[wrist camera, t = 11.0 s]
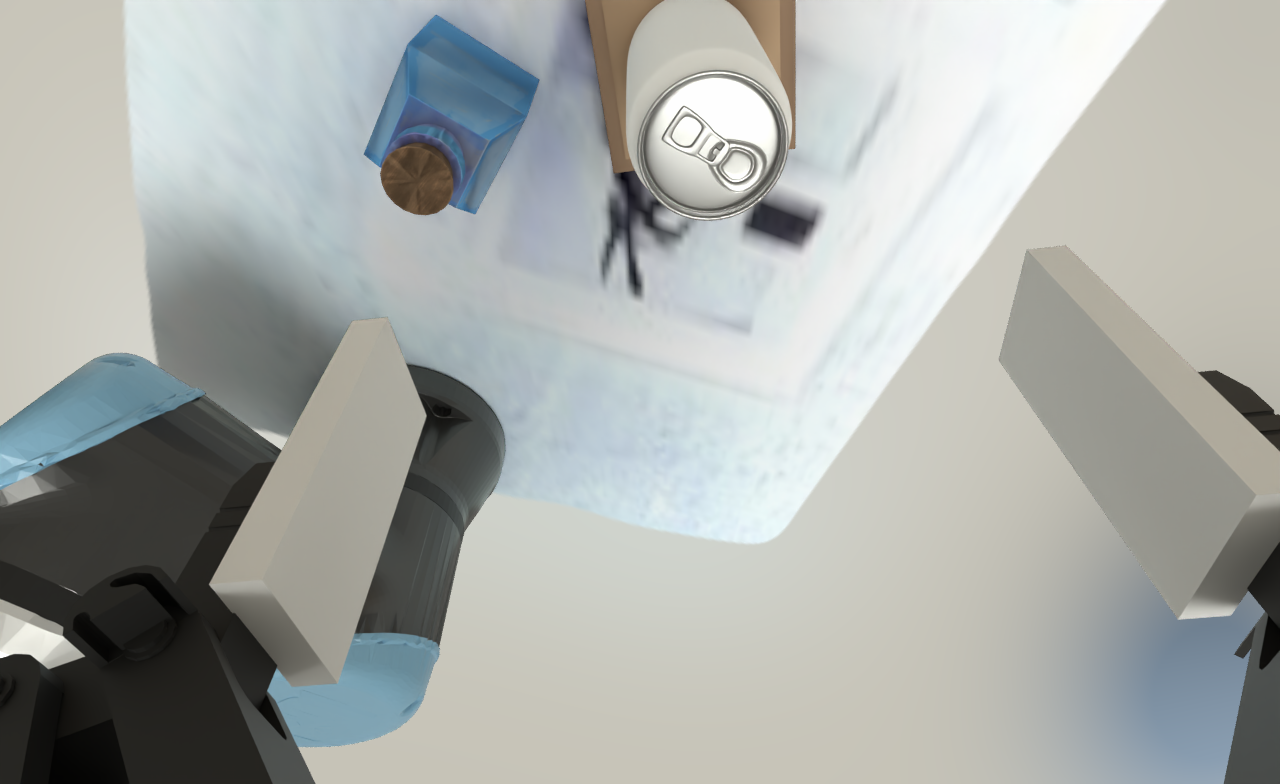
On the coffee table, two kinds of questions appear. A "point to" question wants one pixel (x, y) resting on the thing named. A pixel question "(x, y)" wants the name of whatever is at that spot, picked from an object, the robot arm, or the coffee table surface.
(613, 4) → the plinth
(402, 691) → the robot arm
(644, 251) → the coffee table surface
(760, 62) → the can
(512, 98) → the perfume bottle
